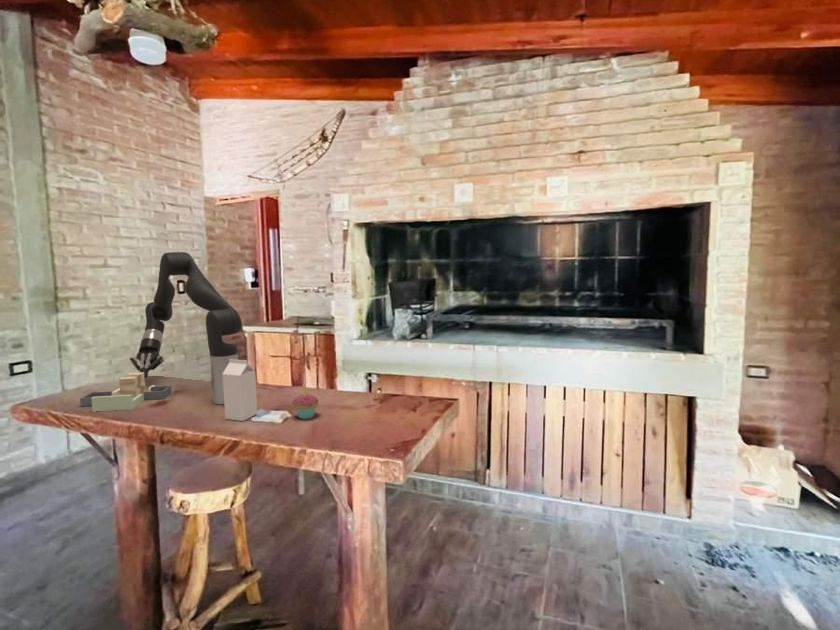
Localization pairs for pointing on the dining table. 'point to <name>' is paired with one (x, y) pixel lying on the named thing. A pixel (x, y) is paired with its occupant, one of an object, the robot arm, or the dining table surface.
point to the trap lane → (122, 399)
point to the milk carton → (239, 390)
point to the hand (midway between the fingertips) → (142, 378)
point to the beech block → (132, 384)
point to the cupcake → (305, 405)
